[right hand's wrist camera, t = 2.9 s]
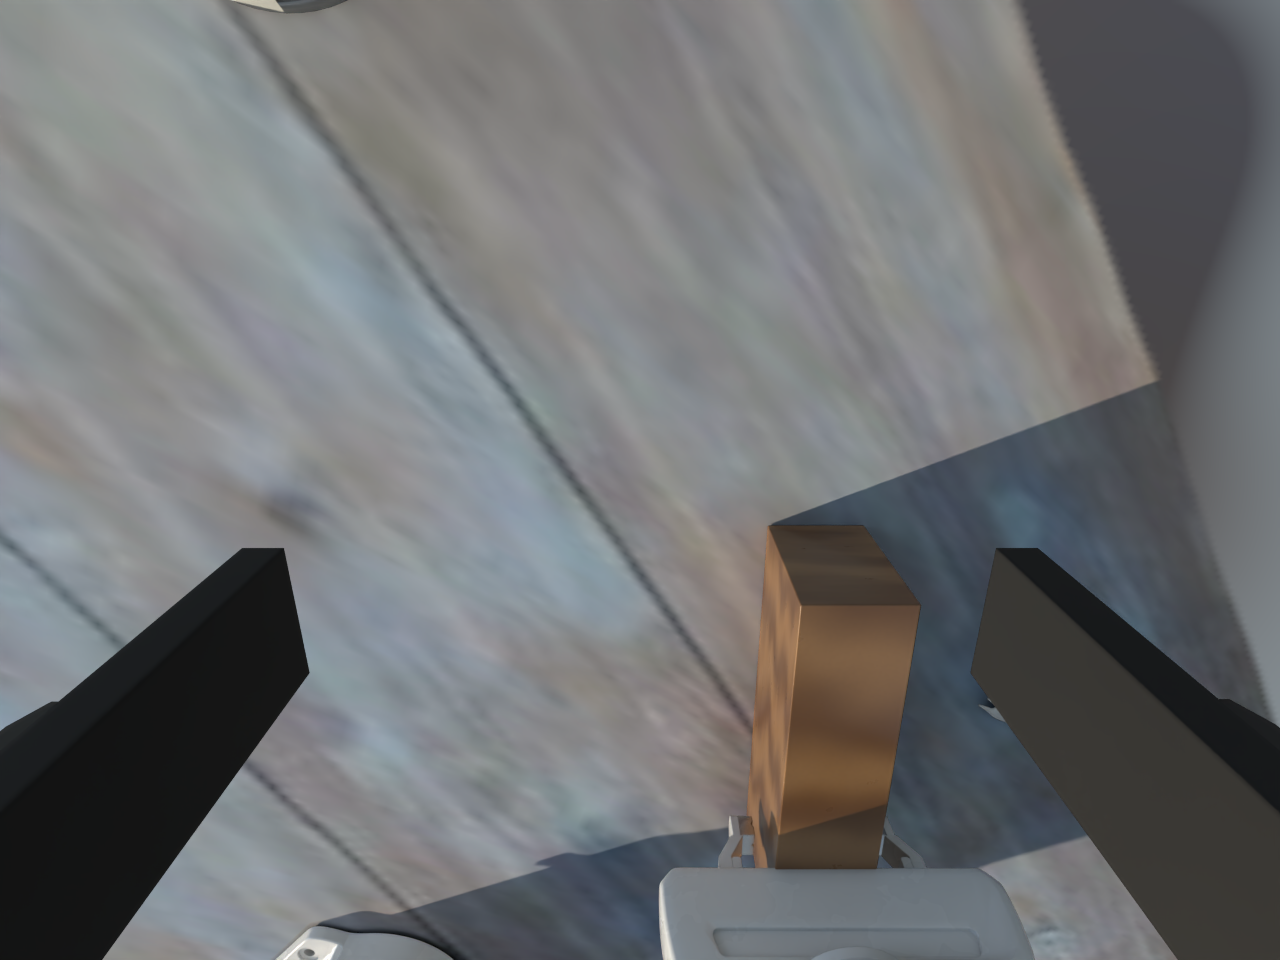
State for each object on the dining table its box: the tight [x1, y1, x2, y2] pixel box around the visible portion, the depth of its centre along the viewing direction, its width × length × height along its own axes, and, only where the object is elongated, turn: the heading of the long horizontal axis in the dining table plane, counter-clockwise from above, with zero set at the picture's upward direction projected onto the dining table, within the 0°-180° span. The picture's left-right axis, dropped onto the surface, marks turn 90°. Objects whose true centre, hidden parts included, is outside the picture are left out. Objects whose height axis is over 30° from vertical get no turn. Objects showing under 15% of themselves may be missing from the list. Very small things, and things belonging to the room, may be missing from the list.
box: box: [747, 526, 921, 869], centre depth 44 cm, size 24×6×10 cm, turn 0°
